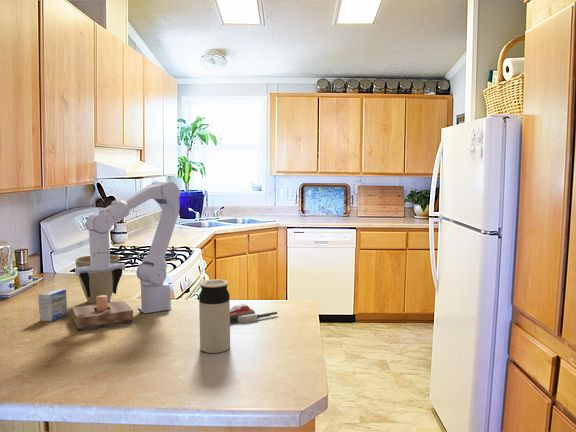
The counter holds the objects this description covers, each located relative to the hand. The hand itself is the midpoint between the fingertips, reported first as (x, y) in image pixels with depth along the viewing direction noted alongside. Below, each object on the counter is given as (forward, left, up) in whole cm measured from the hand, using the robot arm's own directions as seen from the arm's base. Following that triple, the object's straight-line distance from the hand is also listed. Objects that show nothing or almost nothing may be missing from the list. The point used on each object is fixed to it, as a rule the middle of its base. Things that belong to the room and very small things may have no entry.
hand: (101, 294), depth 153 cm
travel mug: (-22, +40, -9) cm, 46 cm away
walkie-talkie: (-40, +20, -9) cm, 46 cm away
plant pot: (-3, -25, -9) cm, 27 cm away
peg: (0, 0, -8) cm, 8 cm away
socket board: (0, 0, -9) cm, 9 cm away
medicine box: (+13, -12, -9) cm, 20 cm away
